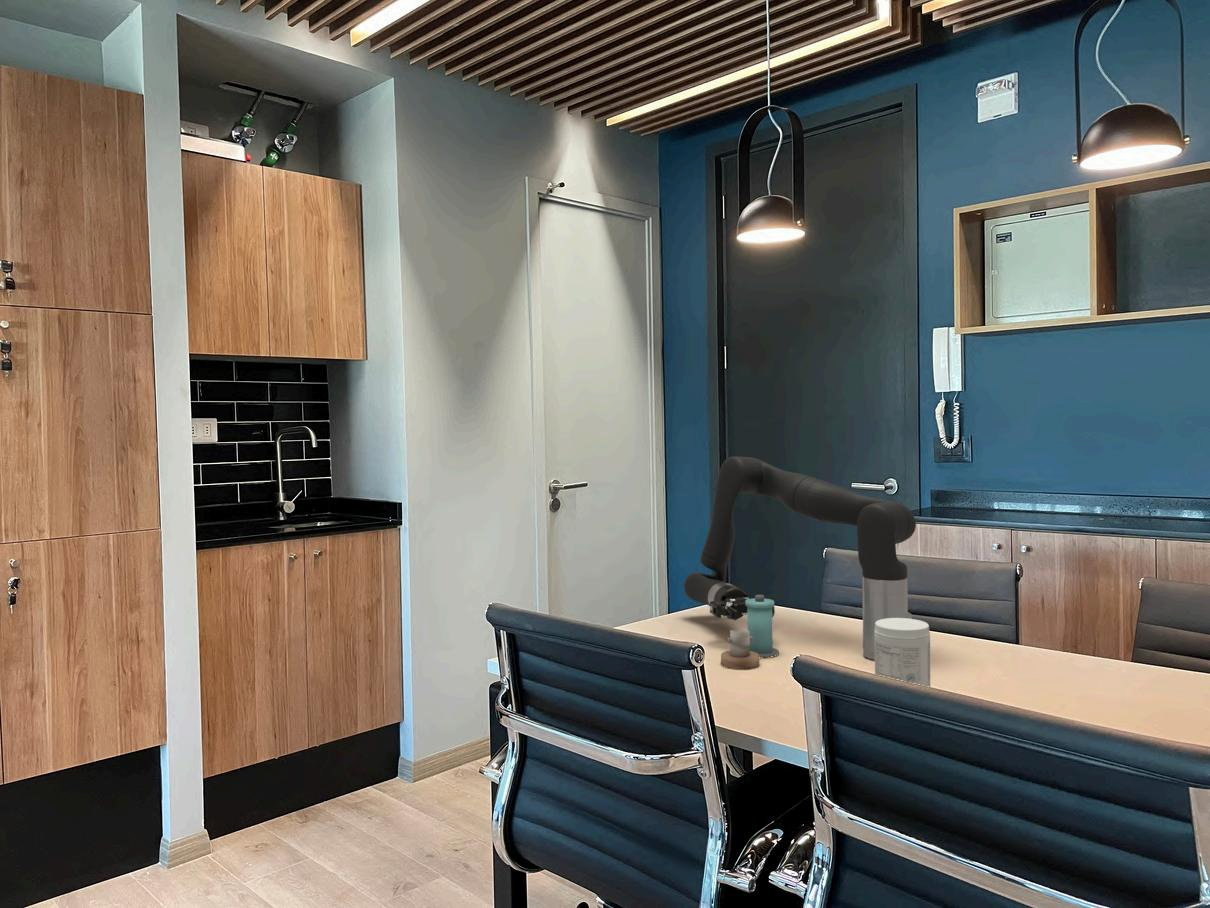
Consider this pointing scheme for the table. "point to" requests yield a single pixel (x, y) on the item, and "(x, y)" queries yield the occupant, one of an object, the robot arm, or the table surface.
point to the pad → (770, 653)
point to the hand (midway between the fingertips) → (754, 614)
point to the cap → (760, 624)
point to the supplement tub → (903, 650)
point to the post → (740, 651)
